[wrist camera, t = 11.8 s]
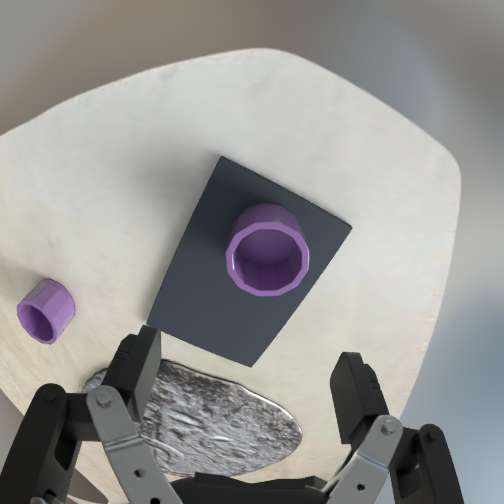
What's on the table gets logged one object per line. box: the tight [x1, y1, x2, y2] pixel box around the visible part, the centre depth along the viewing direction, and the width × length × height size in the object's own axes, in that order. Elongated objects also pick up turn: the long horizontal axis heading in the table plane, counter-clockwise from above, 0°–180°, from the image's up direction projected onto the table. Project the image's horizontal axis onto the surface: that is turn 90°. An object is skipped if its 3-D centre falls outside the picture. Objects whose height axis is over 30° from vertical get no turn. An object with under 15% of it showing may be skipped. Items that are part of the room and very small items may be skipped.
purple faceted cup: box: [17, 279, 75, 344], centre depth 27 cm, size 6×6×4 cm
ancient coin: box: [83, 361, 303, 478], centre depth 39 cm, size 33×35×1 cm
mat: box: [146, 156, 352, 367], centre depth 27 cm, size 18×12×1 cm, turn 152°
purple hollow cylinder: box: [225, 203, 309, 296], centre depth 23 cm, size 6×6×4 cm
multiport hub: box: [305, 476, 328, 491], centre depth 48 cm, size 4×14×2 cm, turn 37°
